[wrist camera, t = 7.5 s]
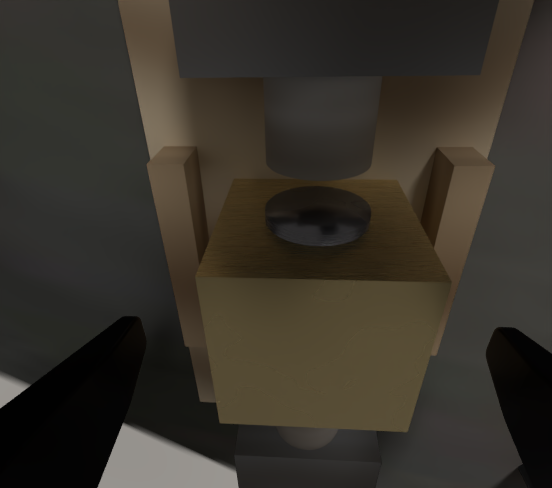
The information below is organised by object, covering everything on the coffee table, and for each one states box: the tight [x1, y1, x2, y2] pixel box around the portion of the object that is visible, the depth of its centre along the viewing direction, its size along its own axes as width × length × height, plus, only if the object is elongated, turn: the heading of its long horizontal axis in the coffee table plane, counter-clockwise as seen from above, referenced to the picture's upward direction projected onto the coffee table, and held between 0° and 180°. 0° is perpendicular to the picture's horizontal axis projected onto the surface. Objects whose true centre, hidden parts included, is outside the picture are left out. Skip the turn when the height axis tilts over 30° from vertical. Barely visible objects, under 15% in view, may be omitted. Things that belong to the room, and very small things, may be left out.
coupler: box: [195, 179, 452, 432], centre depth 11 cm, size 5×6×5 cm
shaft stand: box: [118, 0, 534, 488], centre depth 12 cm, size 18×10×6 cm, turn 1°
